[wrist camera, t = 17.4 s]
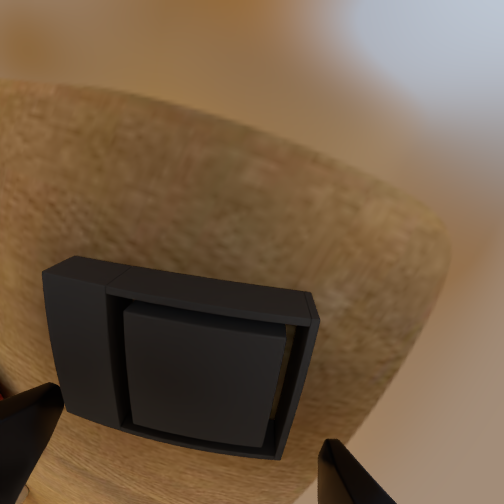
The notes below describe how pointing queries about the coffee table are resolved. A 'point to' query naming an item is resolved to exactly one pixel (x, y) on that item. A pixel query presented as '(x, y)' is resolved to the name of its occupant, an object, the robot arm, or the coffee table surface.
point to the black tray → (113, 341)
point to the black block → (202, 372)
